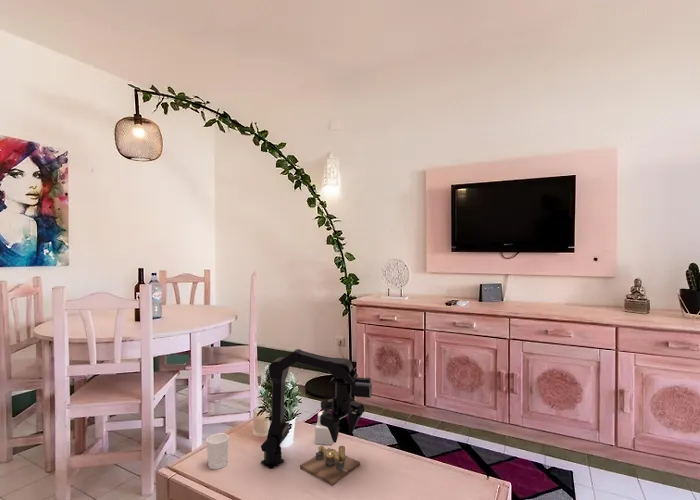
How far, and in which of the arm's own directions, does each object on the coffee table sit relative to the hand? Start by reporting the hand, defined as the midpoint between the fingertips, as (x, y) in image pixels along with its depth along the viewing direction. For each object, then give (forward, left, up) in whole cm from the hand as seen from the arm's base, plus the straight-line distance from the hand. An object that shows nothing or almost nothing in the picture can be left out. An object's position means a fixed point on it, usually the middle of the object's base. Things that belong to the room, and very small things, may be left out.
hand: (343, 437), depth 138 cm
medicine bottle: (-21, +13, -13) cm, 28 cm away
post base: (-6, 0, -13) cm, 14 cm away
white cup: (-40, -26, -13) cm, 50 cm away
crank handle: (-5, 0, -9) cm, 10 cm away
